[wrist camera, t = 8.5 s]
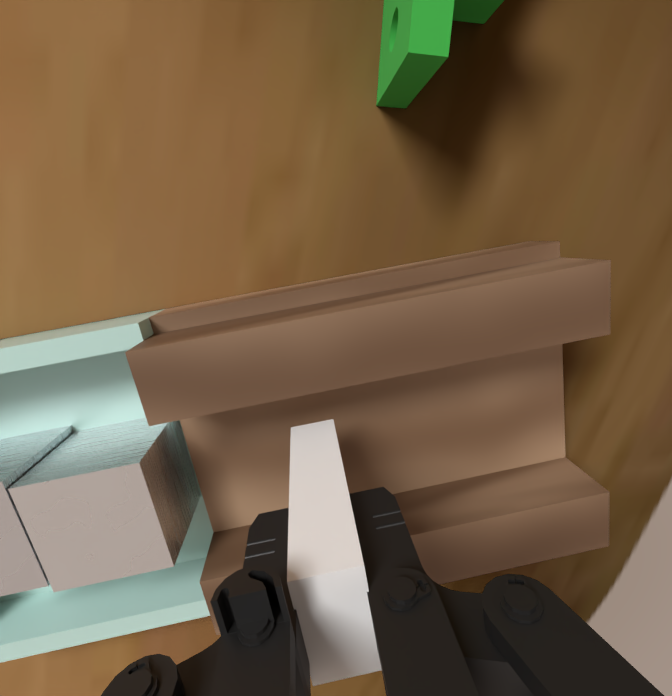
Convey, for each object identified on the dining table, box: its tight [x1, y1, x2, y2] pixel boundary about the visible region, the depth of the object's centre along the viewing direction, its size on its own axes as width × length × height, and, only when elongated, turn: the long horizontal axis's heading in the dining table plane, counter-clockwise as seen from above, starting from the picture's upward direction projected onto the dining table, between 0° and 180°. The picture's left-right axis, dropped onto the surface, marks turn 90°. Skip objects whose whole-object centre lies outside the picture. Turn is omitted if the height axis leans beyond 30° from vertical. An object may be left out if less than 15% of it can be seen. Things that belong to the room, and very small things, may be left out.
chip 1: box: [0, 425, 74, 596], centre depth 15 cm, size 4×4×4 cm
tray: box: [0, 309, 213, 663], centre depth 16 cm, size 12×11×3 cm
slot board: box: [125, 241, 611, 635], centre depth 16 cm, size 12×15×4 cm
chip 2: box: [8, 417, 201, 592], centre depth 15 cm, size 4×4×4 cm
